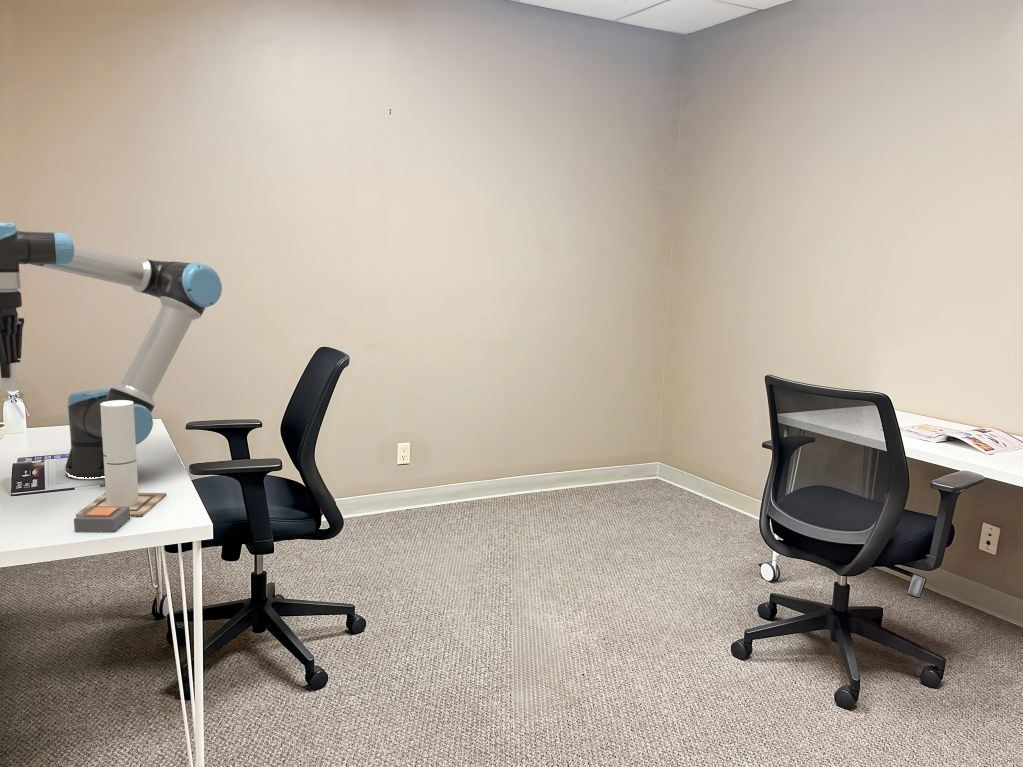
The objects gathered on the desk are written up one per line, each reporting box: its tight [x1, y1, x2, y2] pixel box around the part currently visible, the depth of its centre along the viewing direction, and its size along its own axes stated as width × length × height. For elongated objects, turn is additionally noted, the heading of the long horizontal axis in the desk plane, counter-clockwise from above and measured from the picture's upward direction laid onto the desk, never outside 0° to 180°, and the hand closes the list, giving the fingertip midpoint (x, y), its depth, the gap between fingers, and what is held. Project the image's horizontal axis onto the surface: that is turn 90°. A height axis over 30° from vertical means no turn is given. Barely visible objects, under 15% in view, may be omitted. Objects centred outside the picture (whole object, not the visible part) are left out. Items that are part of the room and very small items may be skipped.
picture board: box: [75, 492, 167, 518], centre depth 193 cm, size 16×15×1 cm
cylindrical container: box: [100, 400, 139, 506], centre depth 190 cm, size 7×7×25 cm
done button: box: [86, 507, 118, 517], centre depth 179 cm, size 5×5×3 cm
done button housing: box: [73, 506, 131, 533], centre depth 179 cm, size 9×9×3 cm
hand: (9, 390), depth 185 cm, fingers closed
